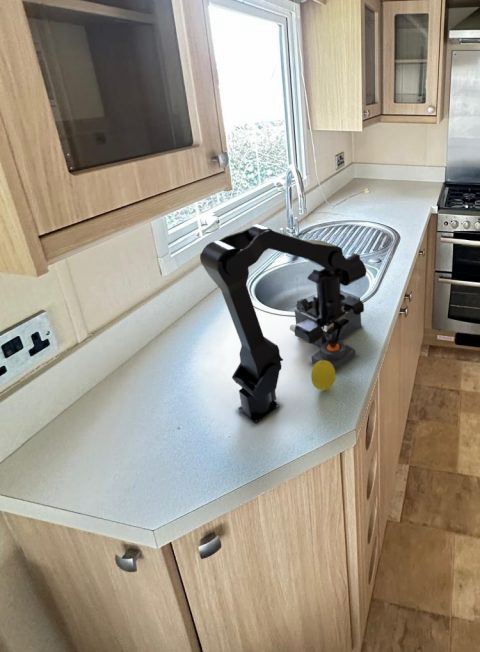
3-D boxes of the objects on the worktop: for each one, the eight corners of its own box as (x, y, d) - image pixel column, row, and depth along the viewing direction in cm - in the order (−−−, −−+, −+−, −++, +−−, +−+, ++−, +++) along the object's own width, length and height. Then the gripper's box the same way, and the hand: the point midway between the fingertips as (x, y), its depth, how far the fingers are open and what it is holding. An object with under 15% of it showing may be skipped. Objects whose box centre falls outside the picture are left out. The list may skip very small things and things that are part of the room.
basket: (311, 355, 105) (308, 329, 103) (285, 340, 112) (282, 316, 109) (354, 326, 117) (353, 303, 114) (329, 315, 123) (327, 292, 121)
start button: (333, 357, 102) (333, 352, 101) (324, 353, 104) (324, 347, 103) (342, 351, 104) (342, 345, 103) (333, 347, 106) (333, 341, 105)
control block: (331, 374, 99) (330, 361, 98) (311, 363, 104) (310, 350, 102) (355, 356, 106) (355, 343, 104) (336, 346, 110) (336, 334, 109)
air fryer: (327, 349, 109) (325, 318, 106) (299, 333, 116) (296, 304, 112) (361, 326, 119) (360, 297, 115) (333, 313, 126) (331, 286, 122)
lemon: (314, 400, 92) (311, 371, 89) (311, 384, 97) (308, 356, 94) (338, 395, 93) (336, 366, 90) (334, 379, 98) (332, 351, 95)
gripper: (333, 270, 109) (336, 320, 115) (276, 297, 96) (283, 352, 101) (364, 281, 103) (366, 334, 108) (307, 312, 89) (313, 370, 95)
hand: (332, 346), depth 103 cm, fingers closed, pressing on start button
